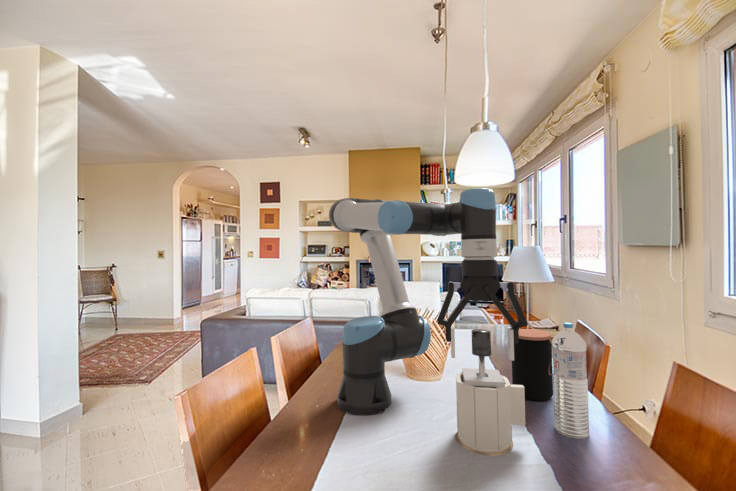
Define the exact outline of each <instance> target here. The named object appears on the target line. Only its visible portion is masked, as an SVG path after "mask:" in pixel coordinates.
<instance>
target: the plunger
mask: <svg viewBox="0 0 736 491" xmlns="http://www.w3.org/2000/svg"><path fill="white" fill-rule="evenodd" d="M491 332H492V330H491V331H490V330H489V329H485V328H483V329H482V328H474V329H471V354H472V355H474V356H477V357H478V369H479V377H485V369H486V367H485V366H486V364H485V362H486V361H485V357H489V356H491V355H492V340H491V338H492V335H491ZM480 387H485V386H480Z"/></svg>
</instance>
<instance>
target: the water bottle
mask: <svg viewBox="0 0 736 491" xmlns="http://www.w3.org/2000/svg"><path fill="white" fill-rule="evenodd" d="M562 325H563V329H562V330H560V331H559V332H558V333H556V334H555V335H554V337H553V338H551V339H552V340H551V344H552V370H553V417H554V418H553V419H554V420H553V421H554V422H553V423H554V430H555V431H556V432H557V433H559V434H560V435H562V436H565V437H567V438H571V439H576V440H583V439H587V438H589V436H590V420H589V419H590V417H589V416H590V415H589V414H590V413H589V392H588V390H589V386H588V384H589V383H588V380H589V379H588V378H587V376H588V375H587V373H588V372H587V343H586V341H585V339H584V338H583V337H582V336H581V335H580V334H579V333H578V332H577V331H575V330H574V329H573V328H574V324H573V323H572V322H563V324H562Z"/></svg>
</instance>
